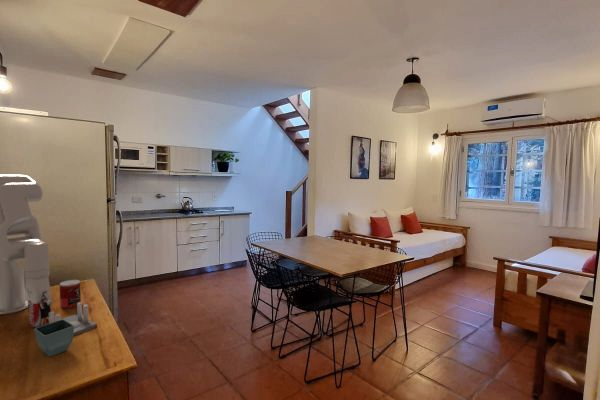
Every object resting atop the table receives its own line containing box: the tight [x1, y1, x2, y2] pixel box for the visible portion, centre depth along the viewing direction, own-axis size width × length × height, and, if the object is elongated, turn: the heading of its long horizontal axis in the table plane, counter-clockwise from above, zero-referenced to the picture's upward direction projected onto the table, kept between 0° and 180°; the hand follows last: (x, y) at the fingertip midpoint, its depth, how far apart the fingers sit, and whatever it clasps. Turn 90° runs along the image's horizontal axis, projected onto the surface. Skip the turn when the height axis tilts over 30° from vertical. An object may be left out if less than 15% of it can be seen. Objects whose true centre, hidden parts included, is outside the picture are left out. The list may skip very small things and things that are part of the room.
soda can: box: [28, 299, 49, 328], centre depth 128 cm, size 6×6×12 cm
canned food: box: [59, 279, 82, 310], centre depth 146 cm, size 8×8×11 cm
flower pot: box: [33, 318, 74, 357], centre depth 109 cm, size 9×9×9 cm
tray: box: [40, 302, 98, 337], centre depth 125 cm, size 16×13×8 cm
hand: (39, 314), depth 128 cm, fingers open, 9 cm apart
